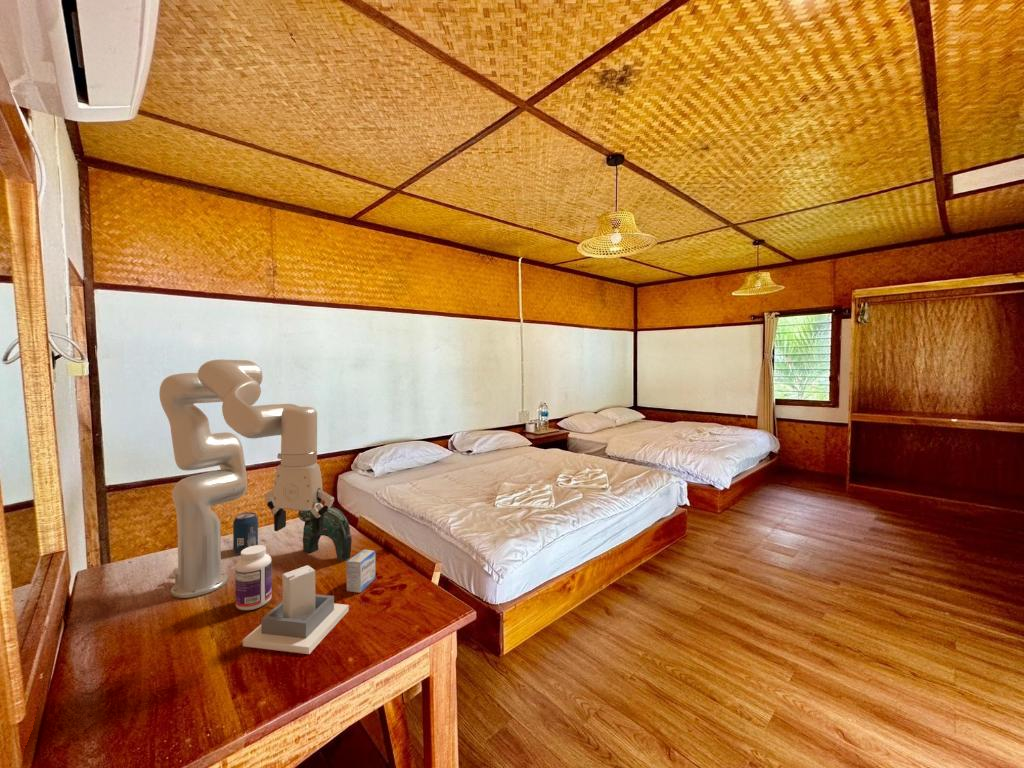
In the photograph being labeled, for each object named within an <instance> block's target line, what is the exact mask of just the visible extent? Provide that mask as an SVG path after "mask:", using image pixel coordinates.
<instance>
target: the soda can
mask: <svg viewBox="0 0 1024 768" xmlns="http://www.w3.org/2000/svg"><path fill="white" fill-rule="evenodd" d="M232 525H233V526H232V528H233V529H232V530H233V531H232V532H233V533H232V541H233V542H232V543H233V545H232V547H233V548H232V549H233V551H234V553H235V554H236V555H241V551H242V550H243V549H245V548H247V547H250V546H255V545H259V519H258V516H257V514H256V512H244V513H240V514H239V513H238V514H237V515H236V516H235V518H234V520H233V522H232Z"/></svg>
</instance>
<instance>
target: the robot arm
mask: <svg viewBox="0 0 1024 768" xmlns="http://www.w3.org/2000/svg"><path fill="white" fill-rule="evenodd" d="M262 381H263V371H262V369H261V367H260V366H259V365H258V364H257V363H256V362H253V361H251V360H245V359H212V360H209V361H206V362H204V363H203V364H202V365H201V366H200V367H199V368H198V370H197V372H185V373H182V372H181V373H175V374H171V375H169V376H167V377H165V378H164V379H163V380H162V382H161V383H160V387H159V392H158V393H159V400H160V405H161V407H162V410H163V411H164V413H165V416H166V417H167V420H168V423H169V427H170V435H171V443H172V449H173V456H174V461H175V464H176V466H177V468H178V469H179V470H181V471H186V472H187V471H188V472H189V471H197V470H203V469H207V468H214V467H218V466H219V467H220V469H219V470H215V471H208V472H204V473H200V474H195V475H189V476H186V477H184V478H182V479H180V480H179V481H178V482H176V484H174V486H173V488H172V491H171V492H172V500H173V503H174V504H173V505H174V509H175V513H176V514H175V515H176V522H177V527H176V528H177V567H174V569H173V570H172V572H171V573H169V575H168V579H169V580H174V581H175V583H174V584H173V585H172V586H171V588H170V594H171V596H172V597H175V598H177V597H178V598H177V599H187V598H194V597H195V598H196V597H199V596H202V595H203V596H204V595H205V594H206V595H207V594H209V593H212V592H214V591H215V590H218V589H220V588H222V586H224V585H226V583H227V581H228V579H229V578H228V574H227V573H226V572H224V571H222V567H221V566H222V559H221V558H222V554H221V553H222V550H221V549H222V547H221V546H222V545H221V544H222V541H221V535H222V534H221V528H222V527H221V524H222V523H221V520H220V517H219V515H217V514H216V513H215V512H214V511H213V510H212V509H211V508H212V507H214V506H217V505H221V504H224V503H228V502H232V501H235V500H238V499H240V498H242V497H243V496H245V494H246V492H247V490H248V475H247V469H246V462H245V455H244V450H243V449H244V448H243V444H242V442H241V440H240V439H239V437H238V436H237V435H236V434H238V435H240V436H242V437H244V438H246V439H253V440H254V439H262V438H268V437H274V436H280V452H279V453H278V454H277V459H279V460H280V464H279V465H277V467H276V471H275V476H274V481H273V488H272V489H273V490H270V491H268V492H266V493H264V495H263V497H264V499H265V501H266V503H267V504H266V505H267V507H268V508H269V509H270V510H271V511H270V512H271V514H272V515H273V531H274V532H279V531H280V530H282V529H284V528H285V527H286V526H287V511H286V510H289V511H292V510H293V511H299V510H302V511H307V510H310V511H311V512H312V513H313V515H314V516H315V517H314V518H313V519H312V534H313V535H316V534H317V533H319V532H320V531H322V530H323V527H324V514H325V513H326V512H327V511H328V510H329V509H330V508H331V507H332V506H333V503H334V501H335V497H334V496H332V495H331V494H329V493H328V492H326V491H324V490H323V479H322V478H323V477H322V473H321V472H322V471H321V468H320V464H319V463H318V411H317V409H316V408H314V407H311V406H300V405H297V404H293V403H280V404H279V403H277V404H275V403H274V404H262V405H254V404H256V402H258V400H259V398H260V396H261V393H262V389H261V388H262V387H261V384H262ZM206 403H207V404H209V403H222V406H221V411H222V416H223V420H224V421H225V424H227V426H228V427H230V428H231V429H232V430H233V431H234V432H235V433H236V434H234V433H232V432H216V433H212V432H211V429H210V424H209V423H210V422H209V418H208V416H207V415H206V414H205V413H204V412H203V411H202V410H201V409H200V408H199V407H198V406H196V405H195V404H206ZM323 501H324V505H323V504H322V503H323ZM317 509H318V510H319V511H318V510H317Z"/></svg>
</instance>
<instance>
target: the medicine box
mask: <svg viewBox="0 0 1024 768" xmlns="http://www.w3.org/2000/svg"><path fill="white" fill-rule="evenodd" d="M375 579H376V551H375V550H371V549H362V550H360V551H359V552H358V553H356V554H355V555H353V556H352V557H350V558H349V559H347V560H346V591H347V592H351V593H352V592H353V593H360V594H361V593H362V592H363V591H364V590H365V589H366V588H367V587H369V585H370V584H371V583H373V581H374V580H375Z"/></svg>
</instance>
